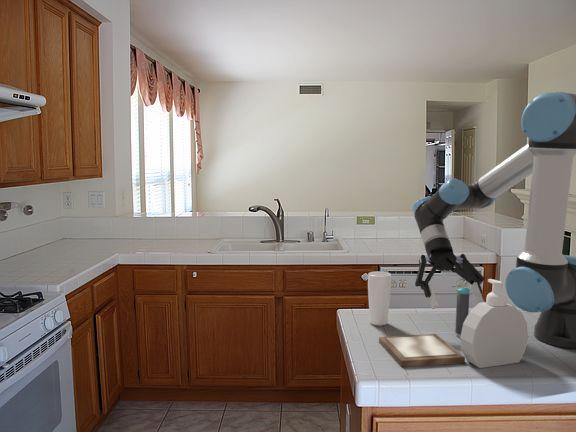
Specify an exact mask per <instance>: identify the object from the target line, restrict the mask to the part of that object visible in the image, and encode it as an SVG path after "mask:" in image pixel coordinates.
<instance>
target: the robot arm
mask: <svg viewBox="0 0 576 432" xmlns="http://www.w3.org/2000/svg"><path fill="white" fill-rule="evenodd" d="M520 124H521V130H522V133H524V134H525V135H524V136H526V137H527V138H528V143H526V144H525V145H524V146H522V147H521V148H520V149H518V150H517V151H516V152H514V153H513V154H512V155H510V156H508V157H507V158H505V160H503V161H501V162H500V163H499V164H498V165H496V166H495V167H493V168H492V169H490V170H489V171H488V172H486V173H485V174H484V175H482V176H481V177H479V178H478V179H477V180H475V181H474V182H472V183H470V184H466V183H465V182H463V181H462V180H460V179H458V178H454V177H453V178H450V179H448V180H447V181H446V182H445V183H443V184H442V185H440V187H439V188H438V190H436V192H435V193H434V194H433V195H432V196H431V197H422V198H420V200H419V199H418V200H416V201H415V202H414V203H413V206H412V210H413V215H414V219H415V221H416V224H417V227H418V231H419V234H420V236H421V239H422V242H423V245H424V248H425V252H426V254H427V255H424V254H421V256H420V257H419V259H418V264H419V267H418V271H417V274H416V279H415V284H414V286H415V287H420V290H423V293H424V297H425V298H428V301H429V303H430V306H431V310H436V309H437V307H438V306H439V303H438V300H437V297H436V293H435V291H434V287H433V284H432V283H430V281H431V279H432V278H433V276H434V274H435V273H436V271H439V272H445V271H446V272H450V271H451V272H452V273H455V274H457V275H458V276H459V277H461V278H462V279H463V280H465V281H466V282H467V283H468V284H470V285H471V286H470V290H471V293H472V294H473V298H474V301H475V303H476V305H477V304H479V303H482V302H485V300H484V298H483V295H482V294H483V293H484V292H483V289H482V286H481V285H482V283H483V282H484V281H485V279H486V278H485V277H484V275H482V274H481V273H480V272H479V270H477V269H476V267H475V266H474V265H473V264H472V263H471V262H470V261H469V260H468V259H467V256H466V254H464V253H461V254H460V255H455V254H454V249H453V247H452V244H451V241H450V239H449V238H450V237H449V235H448V232H447V229H446V227H445V224H444V220H445V219H446V218H448V217H449V216H450V214H452V213H453V212H454V211H460V210H473V209H474V210H475V209H485V208H488V207H491V206H492V205H493V204H494V202H495V200H496V198H497V197H499V196H500V195H502V194H503V193H504V192H506V191H508V190H509V189H510V188H512V187H514V186H515V185H517V184H518V183H520V182H522V181H523V180H524V179H526V178H527V177H529V176H531V182H530V190H529V191H530V192H529V200H528V211H527V220H526V229H525V230H526V231H525V240H524V248H523V250H522V251H521V252H519V253H518V254H517V256H516V263H515V267H514V268H512V269H511V271H510V272H508V274H507V275H506V277H505V283H504V284H505V285H504V286H505V291H506V294H507V297H508V298H509V299H510V300H511V302H512V303H513V304H514V305H515V307H516V308H517V309H519V310H521V311H523V312H527V313H539V312H540V313H539V316H538V318H537V321H536V324H535V325H534V329H533V336H534V337H535V338H536V339H537V340H538V341H541V342H542V343H546V344H548V345H551V346H554V347H555V346H556V347H560V348H565V349H575V350H576V256H574V255H567V254H563V247H564V239H565V231H566V230H565V229H566V222H567V213H568V205H569V204H568V203H569V197H570V196H569V195H570V188H571V179H572V178H571V177H572V170H573V163H574V162H573V161H574V157H575V156H576V94H574V93H569V92H564V91H560V92H559V91H556V92H555V91H552V92H549V91H548V92H545V93H542V94H539V95H537V96H536V97H533V99H532V100H531V101H530V102H528V103H527V105H526V107H524V110H523V112H522V115H521V119H520ZM427 264H430V265H431V266H432V268H431V270H430V271H429V273H428V274H427V276H426V278H425V279H424V280H423V278H424V274H425V270H426V269H425V268H426V265H427ZM454 266H455V267H454Z"/></svg>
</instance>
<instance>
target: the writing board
mask: <svg viewBox="0 0 576 432" xmlns="http://www.w3.org/2000/svg"><path fill="white" fill-rule="evenodd" d="M378 344H380V346H382V348H383V349H384V350H385V351H386V352H387V353H388V355H390V356H391V357H392V359H394V361H395V362H396V363H397V364H398V365H399V366H400V367H401V368H407V367H421V366H422V367H423V366H436V365H437V366H439V365H452V364H453V365H454V364H455V365H456V364H465V360H466V358H465V356H464V354H462V353H460V351H458V350H457V349H455V348H454V347H453V346H452V345H450V344H449V343H448V342H447V341H445V340H444V339H443V338H441V337H440V336H439V335H438V334H436V333H431V334H430V333H429V334H411V335H391V336H379V337H378Z"/></svg>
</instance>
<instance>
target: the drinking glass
mask: <svg viewBox="0 0 576 432" xmlns="http://www.w3.org/2000/svg"><path fill="white" fill-rule="evenodd" d="M367 275H368V276H367V294H368V296H367V297H368V311H369V313H368V314H369V323H370V324H371V325H373V326H378V327H379V326H382V327H383V326H386V325H387V324H388V322H389V321H388V320H389V310H390V309H389V308H390V299H391V292H392V291H391V290H392V274H391V272H388V271H379V270H378V271H370V272H368V274H367Z"/></svg>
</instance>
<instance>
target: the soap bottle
mask: <svg viewBox="0 0 576 432" xmlns="http://www.w3.org/2000/svg"><path fill="white" fill-rule="evenodd" d="M487 283H490V284H492V285H491V286H492V287H491V288H492V289H491V292H489V293H488V294H487V295H486V301H484V302H482V303H479V304H477V303H476V305H475V306H474V307H473V308H472V309H471V310H469V314H468V316H467V317H466V319H465V321H464V323H463V327H462V332H461V337H460V338H459V339H460V346H461V352H462V353H463V354H462V355H463V356H464V357H465V360H466V361H467V362H469V363H471V364H473V365H474V366H475V367H477V368H478V369H484V368H493V367H499V366H506V365H511V364H519V363H520V361H521V360H522V357H523V356H524V355H525V352H526V349H527V345H528V341H529V331H528V323H527V321H526V319H525V316H524V314H523V312H522V311H520V309H519V308H518V307H516V306H514V305H512V304H509V303H507V297H506V295H505V294H504V293H502V290H503V289H502V288H503V281H501V280H497V279H493V278H488V279H487Z"/></svg>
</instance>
